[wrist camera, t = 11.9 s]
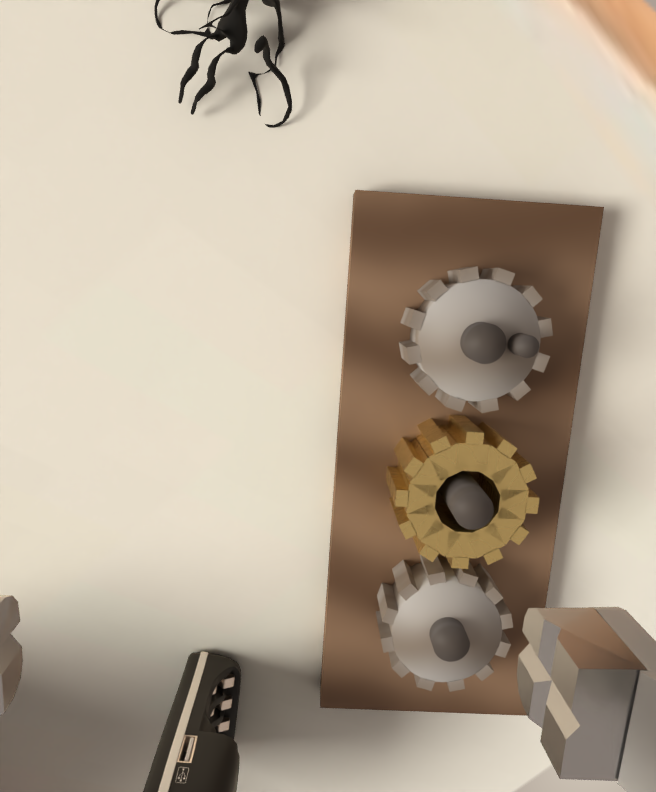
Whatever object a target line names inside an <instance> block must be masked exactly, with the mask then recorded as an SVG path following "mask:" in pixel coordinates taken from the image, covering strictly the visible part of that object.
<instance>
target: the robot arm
mask: <svg viewBox="0 0 656 792" xmlns="http://www.w3.org/2000/svg"><path fill="white" fill-rule="evenodd" d="M19 622H20V616H19V607H18V601H17V600H16V599H15V598H14V597H13V596H10V595H0V715H2V714H4V713H5V711H6V709H7V708H8V706H9V705H10V703H11V701H12V700H13V698H14V696H15V693H16V690H17V687H18V684H19V681H20V678H21V671H22V662H23V659H22V646H21V645H20V644H19V643H18V642H17V640H16V639H15V638H14V637H13V636H12V635H11V632H12V631H13V630H14V628H15V627H16V626H17V625H18V623H19ZM522 631H523V633H524V634H525V636H526V638H527V640H528V641H529V644H528V645H527V647H526V648H525V649H524V650H523V651H522V652H521V653H520V654H519V657H518V666H517V682H518V692H519V695H520V699H521V702H522V705H523V708H524V710H525V712H526V714H527V716H528V718H529V719H530V720H532V721H533V722H534V723H536V724H537V725H539V726H540V727H541V728H542V735H541V741H540V742H541V743H542V745H543V747H544V749H545V751H546V753H547V755H548V757H549V759H550V761H551V763H552V765H553V767H554V769H555V770H556V772H557V775H558V776H559V778H560V779H578V780H608V781H618V783H617V784H618V785H619V786H621V787H622V788H623V789H624V790H625V791H627V792H656V641H655V640H654V639H653V638H652V637H651V636H650V635H649V634H648V633H647V632H646V631H645V630H644V629H643V628H642V627H641V625H640V624H639V623H638V622H637V621H636V620H635V619H634V618H633V617H632V616H631V615H630V614H629V613H628V612H627V611H626V610H624V609H622V608H619V607H589V608H528V610H527V613H526V615H525V617H524V623H523V629H522Z"/></svg>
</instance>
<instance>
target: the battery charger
mask: <svg viewBox="0 0 656 792" xmlns="http://www.w3.org/2000/svg"><path fill="white" fill-rule="evenodd" d="M240 682H241V670H240V666H239V665H238V664H237V662H235V661H234V660H232V659H230V658H228V657H224V656H221V655H215V654H209V653H208V652H201V653H191V654H190V656H189V657H188V661H187V664H186V667H185V670H184V673H183V676H182V679H181V682H180V685H179V688H178V691H177V694H176V696H175V699H174V702H173V705H172V708H171V711H170V713H169V716H168V719H167V722H166V725H165V728H164V731H163V734H162V736H161V739H160V742H159V745H158V748H157V751H156V754H155V757H154V760H153V763H152V766H151V769H150V772H149V775H148V778H147V781H146V784H145V788H144V791H143V792H236V789H237V781H238V773H239V754H238V750H237V743H236V742H235V741H234V734H235V726H236V718H237V708H238V701H239V692H240Z"/></svg>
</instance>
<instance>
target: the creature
mask: <svg viewBox="0 0 656 792" xmlns="http://www.w3.org/2000/svg"><path fill="white" fill-rule="evenodd" d="M159 1H160V0H156V3H155V18H156V23H157V25H158V27H159V28H161V29H162V27H161V25H160V23H159V20H158V16H157V6H158V3H159ZM231 1H232V2H231ZM248 1H249V0H224V1H222V2H220V3H217V4H213V5H212V6H211V8H212V7H213V6H216V5H221V4H225V3H229V2H231V3H230V5H229V7H228V9H227V11H226V12H225V13H224V15H223V16H220V17H218V18H216V19H214V20H213V21H211V22H209V23H208V20H207V23H208V24H206V25H204V26H203V27H201V28H204V27H214V28H216V27H215V26H213V25H212V23H213V22H214V21H215V20H217V19H219V18H221V19H220V21H219V23H218V26H217V28H216V31H215V32H214V33H212V34H210V32H209V28H207V30H206V31H205V32H196V31H184V30H181V31H174V32H171V34H174V35H175V34H189V33H194V34H197V35H201V36H205V37H207V38H205V39H204V40H203V41H202V42H200V43H199V44H198V45H197V46H196V48H195V50H194V52H193V55H192V61H191V66H190V67H189V68H188V70H187V71H186V73H185V75H184V77H183V78H182V80H181V88H180V94H179V103H180V104H181V102H182V99H183V95H184V87H185V85H186V83H187V82H188V81H189V80H190V79H191V78H192V77H193V76H194V75H195V74H196V72H197V71H198V68H199V63H198V61H199V57H200V53H201V49H202V46H203V44H204V42H205V41H206V40H207V39H208V38H210V39H213V38H214V39H216V40H218V41H221V40H223V39H224V38H226V37H227V38H228V39H230V47H228V48H227V49H226V50H224V51H223V52H221V53H220V54H219V55H217V56H216V57H215V58H214V59H213V60H212V62H211V64H210V66H209V68H208V73H207V78H208V80H207V82H206V84H205V85H204V86H203V87H202V88H201V89H200V90H199V92H198V93H197V95H196V96H195V100H194V103H193V106H192V109H191V114H192V115H193V114H194V112H195V109H196V105H197V102H198V101H199V100H200V99H201V98H202V97H203V96H204V95H205V94H207V93H208V92H209V91H211V90H212V89H213V87H214V86H215V83H216V81H215V77H214V76H215V70H216V65H217V63H218V61H219V58H220V56H221V55H222V54H224V53H225V52H226V53H231V54H237V53H239V52H240V51H241V50H242V49H243V48H244V46H245V43H246V40H247V25H246V12H245V10H246V7H247V4H248ZM262 1H263V3H264V4H265V5H268V6H271V7H275V9H276V12H277V16H278V28H279V31H278V41H279V46H278V50H277V52H276V55H275V64H273V63H272V61H271V60H270V48H269V45H268V41H267V38H266V37H265V36H264V35H263V36H261V37H260V38H259V39H258V40H257V41H256V44H255V50H254V51H255V52H256V53H259V52H260V51H262V50H263V58H264V60H265V62H266V65H267V66H268V67H269V68H270V70H268V71H267V72H269V71H272V72H273V73H274V74H275V75H276V76H277V77H278V79H279V80H280V81H281V83H282V86H283V90H284V93H285V96H286V100H287V103H288V109H287V111H286V114H285V116H284V119H283V121H282V122H280V123H278V124H276V125H266V124H265V125H266V126H268V127H277V126H280V125H282V124H283V123H284V122H285V121H286V120H287V119H288V118H289V115H290V113H291V111H292V99H291V94H290V89H289V85H288V83H287V80H286V78H285V76H284V75H283V74H282V73H281V72H280V71H279V69H278V68H277V67H276V61H277V56H278V55H279V53H280V52H281V51H282V49H283V47H284V45H285V43H284V35H283V27H282V17H281V10H280V2H279V0H262ZM211 8H210V11H211ZM210 11H209V13H208V17H209V14H210ZM201 28H199V29H201ZM162 30H164V29H162ZM164 31H166V30H164ZM166 32H168V31H166ZM169 33H170V32H169ZM267 72H265V73H267ZM249 75H250V77H251V79H252V82H253V85H254V87H255V90H256V94H257V102H258V111H259V115H260V98H259V94H258V90H257V87H256V82H255V78H256V77H257V76H258V75H260V74H255V73H250V72H249ZM260 116H261V115H260Z"/></svg>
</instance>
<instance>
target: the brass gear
mask: <svg viewBox="0 0 656 792" xmlns="http://www.w3.org/2000/svg"><path fill="white" fill-rule="evenodd" d="M417 426H418V429H419V431H420V433H421V435H419V436H417V437H416V438H414V439H413V441H412V442H409V441H408V440H406V439H405V438H403V437H402V438H401V440H400V441H399V443H398V444H397V445H396V447H395V448H394V451H395V454H396V456H397V458H398V460H399V461H398V467H389V466H387V476H386V482H387V485H388V488H389V491H390V493H391V496H392V497H390V498H389V499H390V502H391V505H392V507H393V510H394V513H395V516H396V519H397V522H398V525H399V527H400V529H401V531H402V533H403V535H404V537H405V539H408V538H410V537H413V540H414V542H415V545H416V548H417V550H418V553H419V554H420V555H422V556H423V557H425V558H426V559H428V560H430V561H431V562H433V561H434V560H435V558H436V557H437V556H438V554H439V553H440V554H441V555H443V556H444V557H445V556H446V558H447V560H448V562H449V564H450V566H451V568H459V569H468V565H469V558H475V559H476V557H477V558H479V557H481V556H483V558H484V560H485V561H486V563H487V564H488V565H489V564H491V563H493V562H496V561H498V560H500V559H502V558H503V556H502V554H501V552H500V550H499V548H501V547H503V546H505V545H504V544H507V543H508V541H509V540H512V541H513V542H515V543H516V544H518V545H520V544H521V542H522V541H523V540H524V539H525V537H526V536H527V535H528V533H529V531H528V530H527V529H526V528H525V526H524V525H523V524H522V523H523V522H524V520H525V515H526V513H530V514H537V512H538V505H539V497H538V496H537V495H536V494H535V493H534V492H533V491H532V490H531V489H530V488H529V487H528V486H527V484H526V483H528V482H530V481H533V480H535V479H537V477H536V475H535V473H534V471H533V468H532V466H531V464H530V463H529V462H528V461H527V460H526V459H524V458H523V457H522V456H521V455H520V454H518V453H517V452H516V450H517V449H518V448H516V447H515V446H514V445H513V444H512V443H510V442H509V441H508V440H507V439H505V438H504V437H503V436H502V435H501V434H499V433H498V432H497V431H496V430H494V429H493V428H491V427H490V426H489V425H487V424H486V423H484V422H483V421H482V422H481V423H480V425H479V426H478V427H477V426H476V425H475V424H474V423H473V422H472V421H470V420H469V419H468V418H467V417H466V416H465V415H449V422H448V425H439V426H437V425H436V424H435V422H434V421H433V420H432V419H431V418H430V419H428V420H426V421H424V422H422V423H420V424H418V425H417ZM461 471H476V472H479V479H478V485H479V486H480V487H481V488H482V489H483V491H484V492H485V493H486V494H487V496H488V497H489V498H490V499H491V501H492V503H493V507H494V513H493V516H492V518H491V520H490V521H489V523H488V524H487V525H485V526H484V527H482V528H479V529H475V530H471V529H466V528H464V527H462V526H461V525H459V524H458V522H457V521H456V519H455V518H454V516H453V514H452V513H451V511H450V509H449V508H448V506H447V504H439V503H438V502H436V501H435V500H436V492H437V491H438V489H439V488H440V486H441V485H442V484H443V482H444V481H445V480H446V478H448V477H450V476H452V475H454V474H457V473H459V472H461Z"/></svg>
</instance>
